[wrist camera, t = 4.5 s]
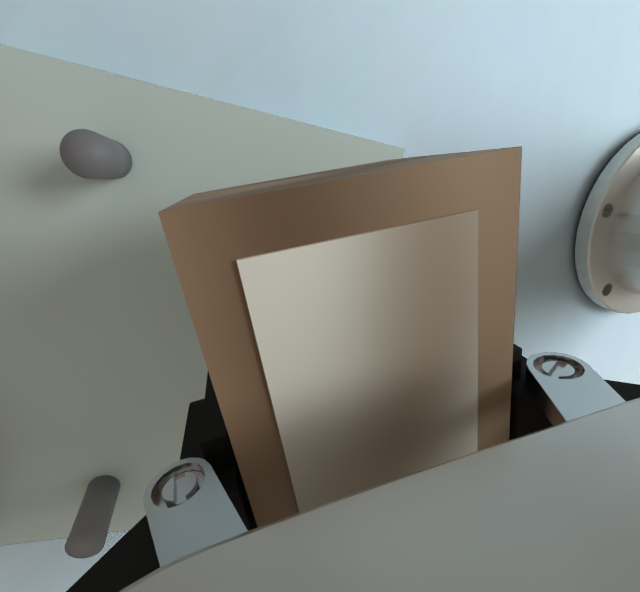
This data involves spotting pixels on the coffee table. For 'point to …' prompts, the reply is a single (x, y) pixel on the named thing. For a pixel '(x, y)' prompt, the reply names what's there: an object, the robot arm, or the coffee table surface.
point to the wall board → (110, 280)
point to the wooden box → (355, 319)
